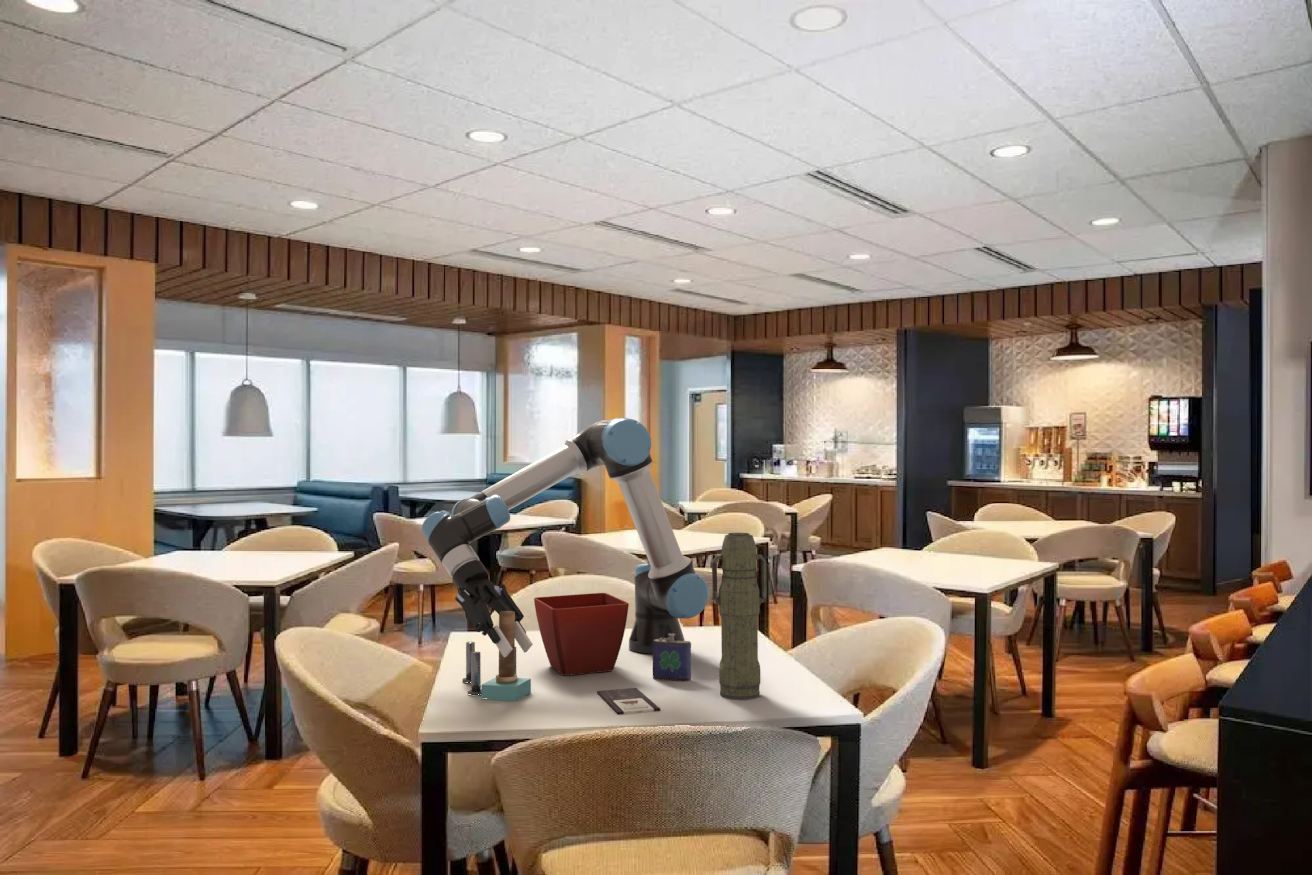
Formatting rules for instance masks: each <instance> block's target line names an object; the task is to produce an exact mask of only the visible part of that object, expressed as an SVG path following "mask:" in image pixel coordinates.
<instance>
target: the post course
mask: <svg viewBox="0 0 1312 875" xmlns="http://www.w3.org/2000/svg"><path fill="white" fill-rule="evenodd" d="M514 674H516V675H517V646H515V658H514ZM481 676H482V675H481V652H480V651H476V642H475V641H466V642H465V677H464V678H462V683H463V682H468V683H467V684H470V686H471V687H470V689H469V690H468V689H467V695H468V694H471V695H478V694H479V695H478V696H481V695H480V694H481V685H482V684H481V681H482V680H481ZM470 682H471V683H470Z"/></svg>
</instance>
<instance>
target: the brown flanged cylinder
mask: <svg viewBox="0 0 1312 875" xmlns="http://www.w3.org/2000/svg"><path fill="white" fill-rule="evenodd" d="M498 627H499V628H500V630H501V631H502V633H503V634H504V636H505V638H506V639H507V641H508V642H509V644H510V645H511V647H512V648H513V650H512V651H511V652H510V653H509V655H508V656H507V657H503V655H502V654H501V652H500V650H499V649H498V673H497V674H496V675H495V677H496V682H497V683H502V684H508V683H515V682H517V678H518V675H517V673H516V674H514V658H515V647H516V646H515V645H516V644H515V643H516V642H515V641H516V639H515V612H514V611H501V612H499V614H498Z"/></svg>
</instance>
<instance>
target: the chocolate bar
mask: <svg viewBox="0 0 1312 875" xmlns="http://www.w3.org/2000/svg"><path fill="white" fill-rule="evenodd" d="M596 694H597V695H598V696H599V697H600V698H601V699H602V700H603V702H605V703H606V704H607V705H608V706H609V708H610V709H611V710H612V711H613V712H614V713H615V714H616V715H617V716H618V715H630V714H639V713H652V712H660V711H661V708H660V707H659V706H658V705H657V704H656V703H654V702H653V701H652V699H650V698H649V697H647V695H645V694H644V693H643V692H642V691H641V690H640V689H638V688H637V687H629V688H618V689H617V688H616V689H606V690H605V689H604V690H597V691H596Z"/></svg>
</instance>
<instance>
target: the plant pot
mask: <svg viewBox="0 0 1312 875" xmlns="http://www.w3.org/2000/svg"><path fill="white" fill-rule="evenodd" d="M533 600H534V606H535V607H534V608H535V615H536V620H537V625H538V628H539V629H538V630H539V634H540V636H541V639H542V643H543V647H544V651H545V653H546V657H547V660H548V663H549V665H550V666H551V667H552V668H553V669H554V670H556V672H558V673H560V674H561V675H562V676H566V677H567V676H575V675H577V676H578V675H584V674H595V673H596V674H597V673H604V672H612V671H613V670H614V669H615V665H616V663H617V661H618V659H619V658H618V657H619V654H620V650H621V647H622V644H623V640H624V636H625V632H626V627H627V626H626V625H627V622H628V621H627V619H628V614H629V604H630V603H629V602H628V601H625V600H624V599H623V600H622V599H620V598H618V597H616V596H615V595H611V594H609V593H607V592H594V593H593V592H592V593H580V594H565V595H551V596H539V597H534V598H533Z"/></svg>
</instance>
